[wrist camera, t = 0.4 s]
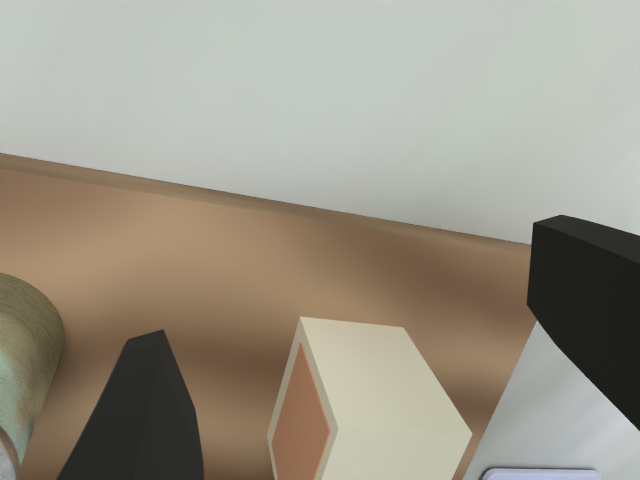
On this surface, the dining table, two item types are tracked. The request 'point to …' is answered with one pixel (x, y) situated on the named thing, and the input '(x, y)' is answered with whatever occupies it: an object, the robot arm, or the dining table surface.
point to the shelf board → (244, 299)
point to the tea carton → (362, 408)
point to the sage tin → (24, 365)
